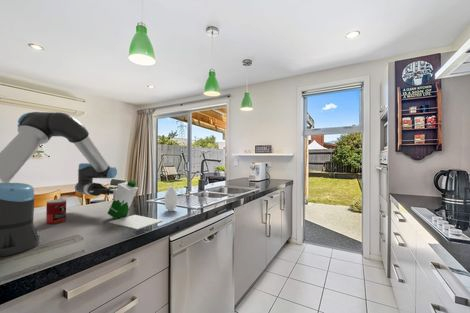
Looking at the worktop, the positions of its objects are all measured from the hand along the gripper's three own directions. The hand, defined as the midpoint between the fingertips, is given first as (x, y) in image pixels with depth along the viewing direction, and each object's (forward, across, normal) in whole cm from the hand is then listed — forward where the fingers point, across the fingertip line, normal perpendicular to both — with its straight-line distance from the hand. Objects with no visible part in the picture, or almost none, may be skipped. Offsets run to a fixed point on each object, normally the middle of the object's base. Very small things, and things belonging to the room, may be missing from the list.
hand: (118, 192), depth 117 cm
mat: (+16, 0, -14) cm, 21 cm away
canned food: (-19, +20, -14) cm, 31 cm away
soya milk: (0, 0, -13) cm, 13 cm away
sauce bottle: (+14, -26, -14) cm, 33 cm away
